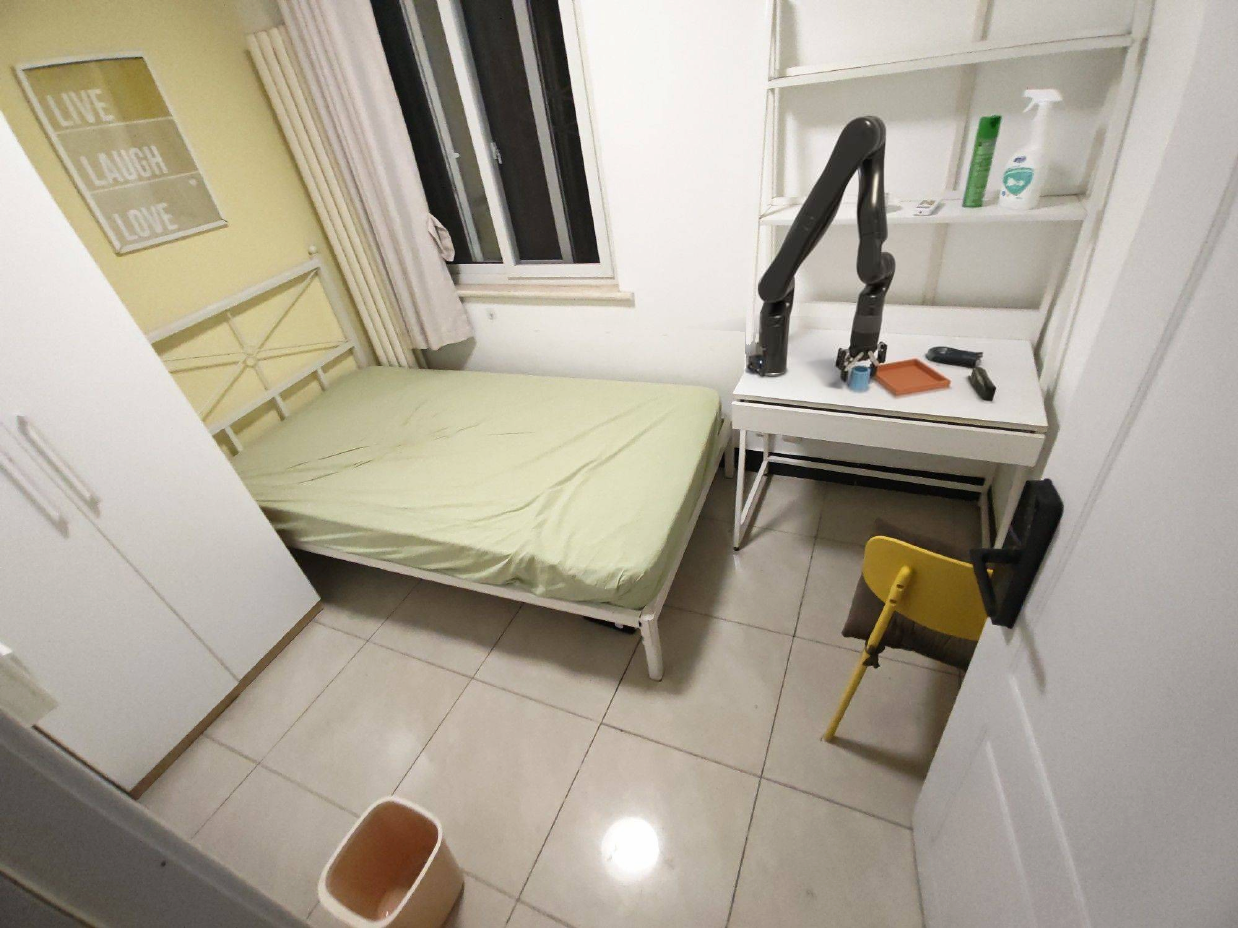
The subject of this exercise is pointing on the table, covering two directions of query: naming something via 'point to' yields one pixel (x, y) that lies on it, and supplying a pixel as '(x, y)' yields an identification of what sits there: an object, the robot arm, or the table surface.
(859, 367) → the blue hollow tube
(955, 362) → the electronic device
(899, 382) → the tray
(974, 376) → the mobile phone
